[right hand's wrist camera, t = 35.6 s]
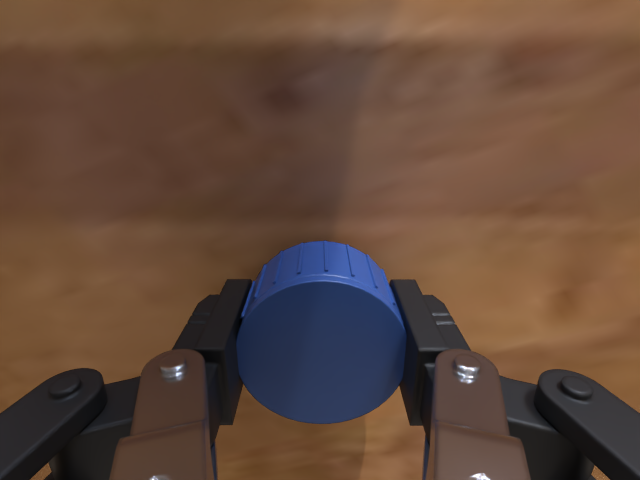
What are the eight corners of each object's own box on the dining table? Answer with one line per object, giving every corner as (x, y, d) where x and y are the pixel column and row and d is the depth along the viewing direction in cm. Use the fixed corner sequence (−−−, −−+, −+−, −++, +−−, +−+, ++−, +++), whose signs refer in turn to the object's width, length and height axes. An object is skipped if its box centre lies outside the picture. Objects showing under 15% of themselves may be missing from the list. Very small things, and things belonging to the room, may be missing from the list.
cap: (229, 335, 13) (208, 393, 10) (281, 214, 11) (270, 249, 9) (354, 380, 13) (361, 445, 11) (419, 272, 12) (444, 319, 9)
